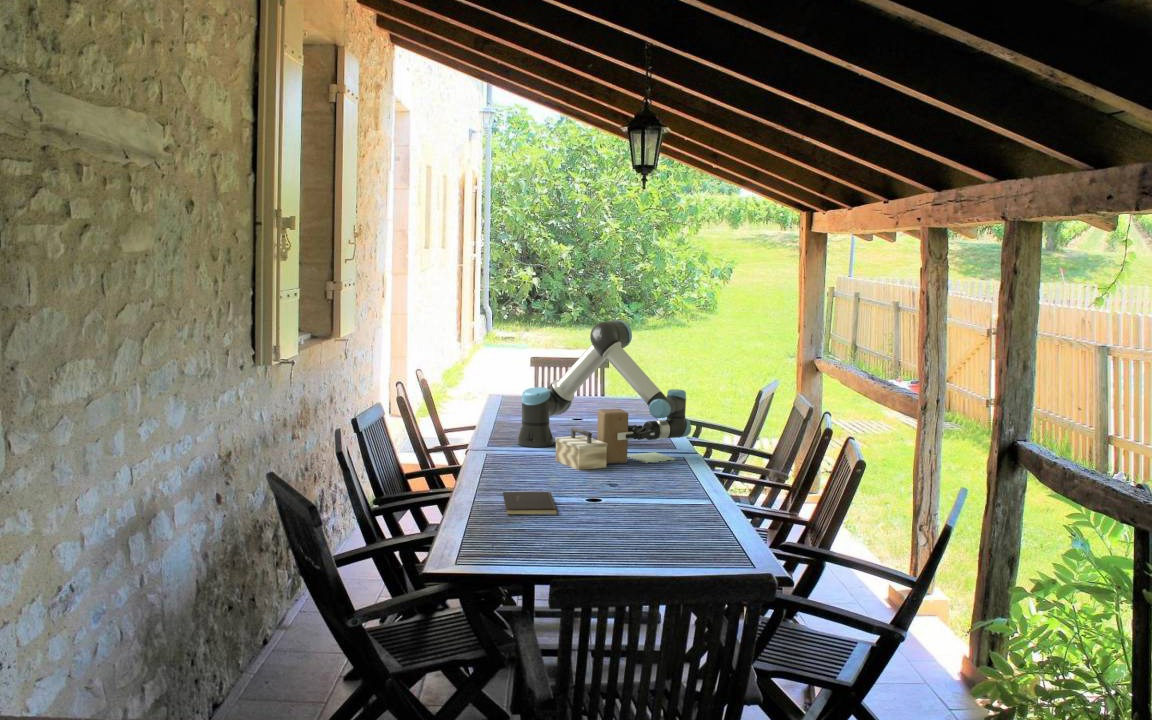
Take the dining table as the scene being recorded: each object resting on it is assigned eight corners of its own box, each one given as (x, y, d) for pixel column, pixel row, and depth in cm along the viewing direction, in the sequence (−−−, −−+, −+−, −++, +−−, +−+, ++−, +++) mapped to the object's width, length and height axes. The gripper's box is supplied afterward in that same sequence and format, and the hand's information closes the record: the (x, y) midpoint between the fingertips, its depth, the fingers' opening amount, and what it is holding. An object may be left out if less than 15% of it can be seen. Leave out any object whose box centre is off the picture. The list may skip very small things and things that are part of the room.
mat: (626, 456, 403) (626, 455, 403) (654, 453, 410) (654, 452, 410) (645, 463, 391) (645, 461, 391) (675, 460, 398) (675, 458, 398)
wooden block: (627, 463, 389) (629, 412, 387) (602, 464, 387) (604, 413, 385) (620, 458, 399) (621, 408, 397) (595, 458, 396) (597, 408, 394)
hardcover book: (505, 516, 310) (505, 509, 309) (502, 498, 332) (502, 491, 332) (557, 516, 311) (557, 509, 311) (550, 498, 334) (551, 491, 334)
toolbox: (554, 460, 391) (555, 426, 390) (583, 458, 398) (584, 424, 396) (578, 470, 376) (579, 434, 374) (608, 467, 382) (609, 432, 381)
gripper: (672, 444, 392) (625, 448, 381) (638, 434, 412) (593, 438, 401) (673, 425, 391) (626, 429, 380) (639, 416, 411) (593, 419, 401)
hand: (609, 433), depth 391 cm, fingers closed on wooden block, 11 cm apart
